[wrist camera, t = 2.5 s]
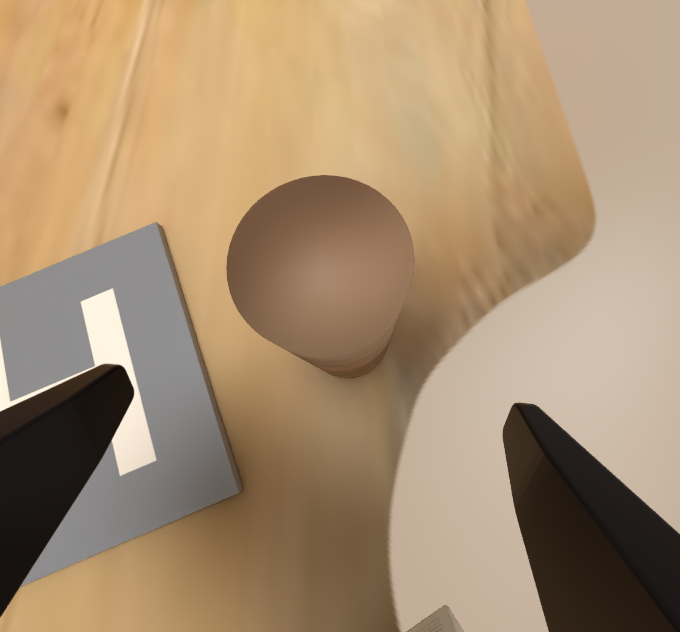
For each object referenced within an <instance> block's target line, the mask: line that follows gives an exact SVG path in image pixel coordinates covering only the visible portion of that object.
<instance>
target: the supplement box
mask: <svg viewBox="0 0 680 632" xmlns="http://www.w3.org/2000/svg"><path fill="white" fill-rule="evenodd" d="M407 632H464V631H463V629H462V628H461V626H460V625H459V623H458V622H457V620H456V618H455V617H454V615H453V614H452V612H451V610H450V608H449V607H448V606H446V605H445V606H443V607H442V608H440V609H438V610H437V611H435V612H434V613H433V614H431V615H430V616H428V617H427V618H426V619H424V620H422V621H421V622H420V623H418V624H417V625H416V626H414V627H413V628H412V629H410V630H408V631H407Z"/></svg>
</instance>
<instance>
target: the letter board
mask: <svg viewBox="0 0 680 632" xmlns="http://www.w3.org/2000/svg"><path fill="white" fill-rule="evenodd" d="M102 364H118V365H122V366H123V367H124V368H125V369H126V371H127V374H128V376H129V378H130V381H131V383H132V385H133V388H134V398H133V400H132V402H131V404H130V406H129V408H128V410H127V412H126V414H125V416H124V418H123V420H122V422H121V423H120V425H119V427H118V429H117V431H116V433H115V435H114V437H113V439H112V441H111V443H110V445H109V447H108V449H107V450H106V452H105V454H104V456H103V458H102V459H101V461H100V463H99V464H98V466H97V468H96V469H95V471H94V472H93V474H92V475H91V477H90V478H89V480H88V482H87V483H86V485H85V486H84V488H83V489H82V491H81V492H80V494H79V496H78V497H77V499H76V500H75V502H74V503H73V505H72V507H71V508H70V510H69V511H68V513H67V514H66V516H65V517H64V519H63V521H62V522H61V524H60V525H59V527H58V528H57V530H56V532H55V533H54V535H53V536H52V538H51V539H50V541H49V542H48V544H47V546H46V547H45V549H44V550H43V552H42V553H41V555H40V557H39V558H38V560H37V561H36V563H35V564H34V566H33V567H32V569H31V571H30V572H29V574H28V575H27V577H26V578H25V580H24V582H23V583H22V585H21V586H23V585H25V584H28V583H30V582H32V581H35V580H37V579H39V578H42V577H44V576H46V575H49V574H51V573H53V572H56V571H58V570H60V569H63V568H65V567H67V566H70V565H72V564H74V563H77V562H79V561H81V560H84V559H86V558H88V557H91V556H93V555H95V554H98V553H100V552H102V551H105V550H107V549H109V548H112V547H114V546H116V545H119V544H121V543H123V542H126V541H128V540H130V539H133V538H135V537H137V536H140V535H142V534H144V533H147V532H149V531H151V530H154V529H156V528H158V527H161V526H163V525H166V524H168V523H170V522H173V521H175V520H177V519H180V518H182V517H184V516H187V515H189V514H191V513H194V512H196V511H198V510H201V509H203V508H205V507H208V506H210V505H212V504H215V503H217V502H219V501H222V500H224V499H226V498H229V497H231V496H233V495H236V494H238V493H240V492H241V491H242V490H243V488H242V485H241V481H240V478H239V475H238V472H237V468H236V465H235V462H234V459H233V455H232V452H231V449H230V446H229V442H228V439H227V436H226V433H225V429H224V426H223V423H222V420H221V416H220V413H219V410H218V407H217V403H216V400H215V397H214V394H213V391H212V387H211V384H210V381H209V378H208V374H207V371H206V368H205V365H204V361H203V358H202V355H201V352H200V348H199V345H198V342H197V339H196V335H195V332H194V329H193V326H192V322H191V319H190V316H189V313H188V309H187V306H186V303H185V300H184V297H183V293H182V290H181V287H180V284H179V280H178V277H177V274H176V271H175V267H174V264H173V261H172V258H171V254H170V251H169V248H168V245H167V241H166V238H165V235H164V232H163V228H162V226H160V225H159V224H158V223H157V222H155V223H153V224H150V225H148V226H145V227H143V228H141V229H138V230H136V231H133V232H131V233H128V234H126V235H124V236H121V237H119V238H116V239H114V240H112V241H109V242H107V243H104V244H102V245H100V246H97V247H95V248H92V249H90V250H88V251H85V252H83V253H80V254H78V255H76V256H73V257H71V258H68V259H66V260H64V261H61V262H59V263H56V264H54V265H52V266H49V267H47V268H44V269H42V270H40V271H37V272H35V273H32V274H30V275H28V276H25V277H23V278H20V279H18V280H16V281H13V282H11V283H8V284H6V285H4V286H1V287H0V411H2V410H4V409H6V408H9V407H11V406H13V405H15V404H17V403H19V402H22V401H24V400H26V399H28V398H30V397H32V396H35V395H37V394H39V393H41V392H43V391H45V390H47V389H50V388H52V387H54V386H56V385H58V384H60V383H63V382H65V381H67V380H69V379H71V378H73V377H76V376H78V375H80V374H82V373H84V372H86V371H89V370H91V369H93V368H95V367H97V366H99V365H102ZM21 586H20V587H21Z"/></svg>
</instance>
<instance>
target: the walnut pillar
mask: <svg viewBox="0 0 680 632" xmlns="http://www.w3.org/2000/svg"><path fill="white" fill-rule="evenodd" d="M413 273H414V248H413V243H412V238H411V235H410V232H409V230H408V227H407V225H406V223H405V221H404V219H403V217H402V216H401V214H400V213H399V212H398V210H397V209H396V207H395V206H394V205H393V204H392V203H391V202H390V201H389V200H388V199H387V198H386V197H384V196H383V195H382V194H381V193H379V192H378V191H376V190H375V189H373V188H371V187H370V186H368V185H366V184H363V183H361V182H359V181H356V180H353V179H349V178H345V177H339V176H328V175H321V176H310V177H305V178H300V179H297V180H293V181H290V182H288V183H285V184H283V185H281V186H279V187H277V188H275V189H274V190H272V191H270V192H269V193H267V194H266V195H265V196H263V197H262V198H261V199H259V200H258V201H257V202H256V203H255V204H254V205H253V206H252V207H251V208H250V209H249V211H248V212H247V213H246V214H245V215H244V217H243V218H242V220H241V221H240V223H239V224H238V226H237V228H236V230H235V233H234V235H233V237H232V240H231V243H230V246H229V251H228V256H227V281H228V285H229V290H230V293H231V296H232V299H233V302H234V304H235V305H236V307H237V309H238V311H239V313H240V314H241V315H242V317H243V318H244V320H245V321H246V322H247V323H248V324H249V325H250V326H251V327H252V328H253V329H254V330H255V331H256V332H257V333H259V334H260V335H261V336H262V337H264V338H265V339H267V340H269V341H271V342H272V343H274V344H276V345H278V346H280V347H281V348H283V349H285V350H287V351H289V352H291V353H292V354H294V355H296V356H298V357H300V358H302V359H303V360H305V361H307V362H309V363H311V364H312V365H314V366H316V367H318V368H320V369H322V370H323V371H325V372H327V373H329V374H331V375H333V376H337V377H341V378H353V377H358V376H361V375H364V374H366V373H368V372H369V371H371V370H372V369H373V368H375V367H376V366H377V365H378V364H379V362H380V361H381V360H382V358H383V356H384V354H385V352H386V349H387V346H388V344H389V341H390V338H391V336H392V333H393V331H394V328H395V325H396V323H397V320H398V317H399V315H400V312H401V309H402V307H403V304H404V302H405V299H406V296H407V294H408V291H409V288H410V285H411V282H412V277H413Z"/></svg>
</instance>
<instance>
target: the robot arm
mask: <svg viewBox="0 0 680 632" xmlns="http://www.w3.org/2000/svg"><path fill="white" fill-rule="evenodd" d="M133 398H134V388H133V385H132V383H131V381H130V378H129V376H128V374H127V371H126V369H125V368H124V367H123V366H122V365H118V364H102V365H99V366H97V367H95V368H93V369H91V370H89V371H86V372H84V373H82V374H80V375H78V376H76V377H73V378H71V379H69V380H67V381H65V382H63V383H60V384H58V385H56V386H54V387H52V388H50V389H47V390H45V391H43V392H41V393H39V394H37V395H35V396H32V397H30V398H28V399H26V400H24V401H22V402H19V403H17V404H15V405H13V406H11V407H9V408H6V409H4V410H2V411H0V617H1V616H2V614H3V613H4V611H5V610H6V608H7V606H8V605H9V603H10V602H11V600H12V599H13V597H14V596H15V594H16V592H17V591H18V589H19V588H20V586H21V585H22V583H23V582H24V580H25V578H26V577H27V575H28V574H29V572H30V571H31V569H32V567H33V566H34V564H35V563H36V561H37V560H38V558H39V557H40V555H41V553H42V552H43V550H44V549H45V547H46V546H47V544H48V542H49V541H50V539H51V538H52V536H53V535H54V533H55V532H56V530H57V528H58V527H59V525H60V524H61V522H62V521H63V519H64V517H65V516H66V514H67V513H68V511H69V510H70V508H71V507H72V505H73V503H74V502H75V500H76V499H77V497H78V496H79V494H80V492H81V491H82V489H83V488H84V486H85V485H86V483H87V482H88V480H89V478H90V477H91V475H92V474H93V472H94V471H95V469H96V468H97V466H98V464H99V463H100V461H101V459H102V458H103V456H104V454H105V452H106V450H107V449H108V447H109V445H110V443H111V441H112V439H113V437H114V435H115V433H116V431H117V429H118V427H119V425H120V423H121V422H122V420H123V418H124V416H125V414H126V412H127V410H128V408H129V406H130V404H131V402H132V400H133ZM503 442H504V448H505V454H506V460H507V466H508V472H509V478H510V484H511V490H512V496H513V502H514V507H515V511H516V515H517V519H518V523H519V526H520V530H521V534H522V537H523V541H524V545H525V548H526V551H527V555H528V559H529V562H530V566H531V569H532V573H533V577H534V580H535V583H536V587H537V590H538V594H539V598H540V602H541V605H542V609H543V612H544V616H545V619H546V623H547V626H548V630H549V632H680V534H679V533H678V532H677V531H676V530H675V529H673V528H672V527H671V526H670V525H669V524H668V523H667V522H666V521H664V520H663V519H662V518H661V517H660V516H659V515H658V514H657V513H656V512H655V511H653V510H652V509H651V508H650V507H649V506H648V505H647V504H646V503H645V502H643V501H642V500H641V499H640V498H639V497H638V496H637V495H636V494H635V493H633V492H632V491H631V490H630V489H629V488H628V487H627V486H626V485H625V484H623V483H622V482H621V481H620V480H619V479H618V478H617V477H616V476H615V475H613V474H612V473H611V472H610V471H609V470H608V469H607V468H606V467H605V466H603V465H602V464H601V463H600V462H599V461H598V460H597V459H596V458H595V457H593V456H592V455H591V454H590V453H589V452H588V451H587V450H586V449H585V448H583V447H582V446H581V445H580V444H579V443H578V442H577V441H576V440H575V439H573V438H572V437H571V436H570V435H569V434H568V433H567V432H566V431H565V430H563V429H562V428H561V427H560V426H559V425H558V424H557V423H556V422H555V421H553V420H552V419H551V418H550V417H549V416H548V415H547V414H545V413H544V412H543V411H542V410H541V409H540V408H539V407H538V406H536V405H534V404H527V403H515V404H514V405H513V406H512V408H511V410H510V412H509V415H508V418H507V420H506V422H505V425H504V428H503Z"/></svg>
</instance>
